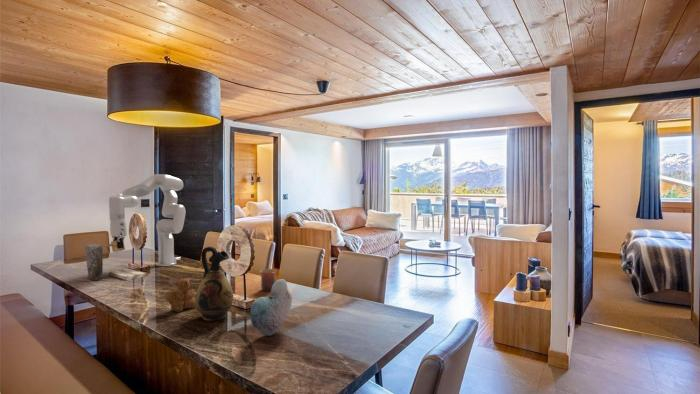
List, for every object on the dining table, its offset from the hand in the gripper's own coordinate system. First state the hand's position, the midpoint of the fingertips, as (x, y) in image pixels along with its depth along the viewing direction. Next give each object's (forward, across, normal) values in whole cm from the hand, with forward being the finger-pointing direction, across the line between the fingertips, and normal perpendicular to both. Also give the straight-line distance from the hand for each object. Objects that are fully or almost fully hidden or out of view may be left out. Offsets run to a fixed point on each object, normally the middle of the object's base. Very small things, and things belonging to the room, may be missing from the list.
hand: (118, 247), depth 214 cm
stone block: (+19, +12, +8) cm, 24 cm away
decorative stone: (+18, -133, +10) cm, 135 cm away
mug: (+19, -91, -32) cm, 98 cm away
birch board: (+19, +2, -6) cm, 20 cm away
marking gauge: (+2, 0, +2) cm, 3 cm away
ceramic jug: (+18, -99, +10) cm, 101 cm away
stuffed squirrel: (+18, -79, +11) cm, 82 cm away
